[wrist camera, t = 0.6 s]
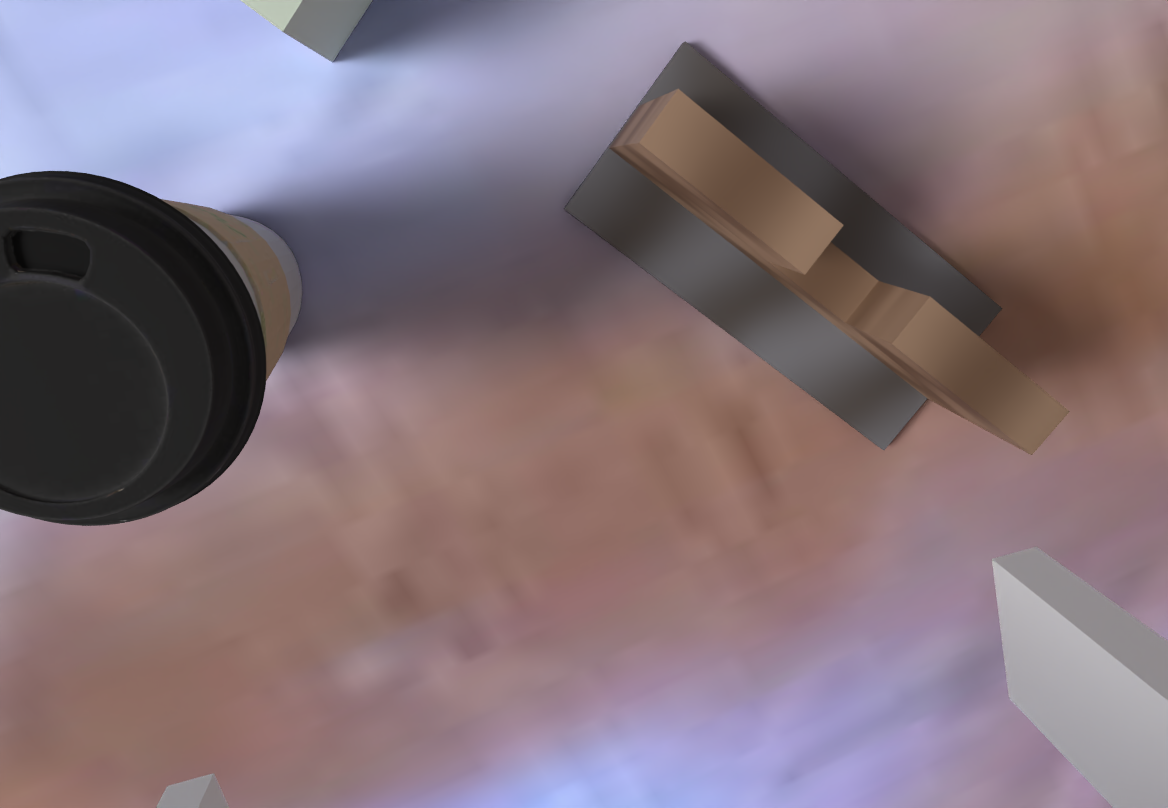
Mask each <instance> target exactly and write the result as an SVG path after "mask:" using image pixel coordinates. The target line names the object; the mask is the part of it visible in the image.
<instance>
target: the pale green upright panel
mask: <svg viewBox="0 0 1168 808" xmlns="http://www.w3.org/2000/svg"><path fill="white" fill-rule="evenodd" d="M241 1H242V2H243V3H245V4H246V5H247V6H249V7H250V8H251V9H253V10H254V11H255V12H257V13H258V14H259V15H261V16H262V17H263V18H265V19H266V20H268V21H269V22H270V23H272V24H273V25H274V26H276V27H277V28H278V29H280V30H281V31H282V32H284V33H285V34H287V35H289V36H290V37H292V38H294V39H295V40H297V41H298V42H300V43H302V44H303V45H305V46H307V47H308V48H310V49H312V50H313V51H315V52H316V53H318V54H320V55H321V56H323V57H325V58H326V59H328V60H329V61H331V62H333V61H334V60H335V58H336V56H337V55H338V53H339V52H340V50H341V49H342V47H343V46H344V44H345V42H346V41H347V39H348V38H349V36H350V35H351V33H352V32H353V30H354V28H355V27H356V25H357V24H358V22H359V21H360V19H361V18H362V16H363V15H364V13H365V11H366V10H367V8H368V7H369V5H370V4H371V2H372V1H373V0H241Z"/></svg>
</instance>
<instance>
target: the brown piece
mask: <svg viewBox="0 0 1168 808" xmlns="http://www.w3.org/2000/svg"><path fill="white" fill-rule="evenodd" d="M564 209H565V210H566V211H567V212H569V213H570V214H571V215H572V216H574V217H575V218H576V219H578V220H579V221H580V222H582V223H583V224H584V225H586V226H587V227H588V228H590V229H591V230H592V231H594V232H595V233H596V234H598V235H599V236H600V237H602V238H603V239H604V240H606V241H607V242H608V243H610V244H611V245H612V246H614V247H615V248H616V249H618V250H619V251H620V252H621V253H623V254H624V255H625V256H627V257H628V258H629V259H631V260H632V261H633V262H635V263H636V264H637V265H639V266H640V267H641V268H643V269H644V270H645V271H647V272H648V273H649V274H651V275H652V276H653V277H655V278H656V279H657V280H659V281H660V282H661V283H663V284H664V285H665V286H666V287H668V288H669V289H670V290H672V291H673V292H674V293H676V294H677V295H678V296H680V297H681V298H682V299H684V300H685V301H686V302H688V303H689V304H690V305H692V306H693V307H694V308H696V309H697V310H698V311H700V312H701V313H702V314H704V315H705V316H706V317H708V318H709V319H710V320H712V321H713V322H714V323H715V324H717V325H718V326H719V327H721V328H722V329H723V330H725V331H726V332H727V333H729V334H730V335H731V336H733V337H734V338H735V339H737V340H738V341H739V342H741V343H742V344H743V345H745V346H746V347H747V348H749V349H750V350H751V351H753V352H754V353H755V354H757V355H758V356H759V357H761V358H762V359H763V360H764V361H766V362H767V363H768V364H770V365H771V366H772V367H774V368H775V369H776V370H778V371H779V372H780V373H782V374H783V375H784V376H786V377H787V378H788V379H790V380H791V381H792V382H794V383H795V384H796V385H798V386H799V387H800V388H802V389H803V390H804V391H806V392H807V393H808V394H810V395H811V396H812V397H813V398H815V399H816V400H817V401H819V402H820V403H821V404H823V405H824V406H825V407H827V408H828V409H829V410H831V411H832V412H833V413H835V414H836V415H837V416H839V417H840V418H841V419H843V420H844V421H845V422H847V423H848V424H849V425H851V426H852V427H853V428H855V429H856V430H857V431H858V432H860V433H861V434H862V435H864V436H865V437H866V438H868V439H869V440H870V441H872V442H873V443H874V444H876V445H877V446H878V447H880V448H881V449H882V450H885V449H886V447H887V446H888V445H889V444H890V443H891V441H892V440H893V439H894V438H895V437H896V435H897V434H898V433H899V432H900V431H901V429H902V428H903V427H904V426H905V425H906V423H907V422H908V421H909V420H910V419H911V417H912V416H913V415H914V414H915V413H916V411H917V410H918V409H919V408H920V407H921V405H922V404H923V403H924V402H925V401H926V399H927V398H928V399H929V400H931V401H933V402H935V403H937V404H939V405H940V406H942V407H944V408H946V409H948V410H950V411H951V412H953V413H955V414H957V415H959V416H961V417H962V418H964V419H966V420H968V421H970V422H972V423H973V424H975V425H977V426H979V427H981V428H983V429H984V430H986V431H988V432H990V433H992V434H994V435H995V436H997V437H999V438H1001V439H1003V440H1005V441H1006V442H1008V443H1010V444H1012V445H1014V446H1016V447H1017V448H1019V449H1021V450H1023V451H1025V452H1027V453H1028V454H1030V455H1032V454H1033V453H1034V452H1035V451H1036V450H1037V449H1038V447H1039V446H1040V445H1041V444H1042V443H1043V442H1044V440H1045V439H1046V438H1047V437H1048V436H1049V435H1050V434H1051V432H1052V431H1053V430H1054V429H1055V428H1056V427H1057V425H1058V424H1059V423H1060V422H1061V421H1062V420H1063V419H1064V417H1065V416H1066V415H1067V414H1068V413H1069V412H1070V411H1068V410H1067V409H1066V408H1065V407H1064V406H1062V405H1061V404H1060V403H1059V402H1057V401H1056V400H1055V399H1054V398H1053V397H1051V396H1050V395H1049V394H1048V393H1047V392H1045V391H1044V390H1043V389H1042V388H1041V387H1039V386H1038V385H1037V384H1036V383H1034V382H1033V381H1032V380H1031V379H1030V378H1028V377H1027V376H1026V375H1025V374H1024V373H1022V372H1021V371H1020V370H1019V369H1017V368H1016V367H1015V366H1014V365H1013V364H1011V363H1010V362H1009V361H1008V360H1007V359H1005V358H1004V357H1003V356H1002V355H1000V354H999V353H998V352H997V351H996V350H994V349H993V348H992V347H991V346H990V345H988V344H987V343H986V342H985V341H984V340H982V339H981V338H980V337H979V336H980V335H981V333H982V332H983V331H984V330H985V329H986V327H987V326H988V325H989V324H990V322H991V321H992V320H993V319H994V318H995V316H996V315H997V314H998V313H999V312H1000V310H1001V309H1002V308H1001V307H1000V306H999V305H997V304H996V303H995V302H994V301H993V300H992V299H990V298H989V297H988V296H987V295H986V294H984V293H983V292H982V291H981V290H980V289H978V288H977V287H976V286H975V285H974V284H973V283H971V282H970V281H969V280H968V279H967V278H965V277H964V276H963V275H962V274H961V273H959V272H958V271H957V270H956V269H955V268H954V267H952V266H951V265H950V264H949V263H948V262H946V261H945V260H944V259H943V258H942V257H941V256H939V255H938V254H937V253H936V252H935V251H933V250H932V249H931V248H930V247H929V246H927V245H926V244H925V243H924V242H923V241H922V240H920V239H919V238H918V237H917V236H916V235H914V234H913V233H912V232H911V231H910V230H908V229H907V228H906V227H905V226H904V225H903V224H901V223H900V222H899V221H898V220H897V219H895V218H894V217H893V216H892V215H891V214H889V213H888V212H887V211H886V210H885V209H884V208H882V207H881V206H880V205H879V204H878V203H876V202H875V201H874V200H873V199H872V198H870V197H869V196H868V195H867V194H866V193H865V192H863V191H862V190H861V189H860V188H859V187H857V186H856V185H855V184H854V183H853V182H851V181H850V180H849V179H848V178H847V177H846V176H844V175H843V174H842V173H841V172H840V171H838V170H837V169H836V168H835V167H834V166H833V165H831V164H830V163H829V162H828V161H827V160H825V159H824V158H823V157H822V156H821V155H819V154H818V153H817V152H816V151H815V150H814V149H812V148H811V147H810V146H809V145H808V144H806V143H805V142H804V141H803V140H802V139H800V138H799V137H798V136H797V135H796V134H795V133H793V132H792V131H791V130H790V129H789V128H787V127H786V126H785V125H784V124H783V123H781V122H780V121H779V120H778V119H777V118H776V117H774V116H773V115H772V114H771V113H770V112H768V111H767V110H766V109H765V108H764V107H762V106H761V105H760V104H759V103H758V102H757V101H755V100H754V99H753V98H752V97H751V96H749V95H748V94H747V93H746V92H745V91H743V90H742V89H741V88H740V87H739V86H738V85H736V84H735V83H734V82H733V81H732V80H730V79H729V78H728V77H727V76H726V75H725V74H723V73H722V72H721V71H720V70H719V69H717V68H716V67H715V66H714V65H713V64H711V63H710V62H709V61H708V60H707V59H706V58H704V57H703V56H702V55H701V54H700V53H698V52H697V51H696V50H695V49H694V48H692V47H691V46H690V45H689V44H688V43H687V42H684V43H682V45H681V46H680V47H679V49H678V50H677V52H676V53H675V54H674V56H673V57H672V59H671V60H670V61H669V63H668V64H667V65H666V67H665V68H664V70H663V71H662V72H661V74H660V75H659V77H658V78H657V79H656V81H655V82H654V84H653V85H652V86H651V88H650V89H649V91H648V92H647V93H646V95H645V96H644V98H643V99H642V100H641V102H640V103H639V105H638V106H637V107H636V109H635V110H634V112H633V113H632V114H631V116H630V117H629V119H628V120H627V121H626V123H625V124H624V125H623V127H622V128H621V130H620V131H619V132H618V134H617V135H616V137H615V138H614V139H613V141H612V142H611V144H610V145H609V146H608V148H607V149H606V151H605V152H604V153H603V155H602V156H601V158H600V159H599V160H598V162H597V163H596V165H595V166H594V167H593V169H592V170H591V172H590V173H589V174H588V176H587V177H586V178H585V180H584V181H583V183H582V184H581V185H580V187H579V188H578V190H577V191H576V192H575V194H574V195H573V197H572V198H571V199H570V201H569V202H568V204H567V205H566V206H565V208H564Z"/></svg>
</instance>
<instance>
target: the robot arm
mask: <svg viewBox="0 0 1168 808" xmlns="http://www.w3.org/2000/svg"><path fill="white" fill-rule="evenodd" d="M992 564H993V572H994V580H995V588H996V596H997V604H998V612H999V620H1000V629H1001V637H1002V645H1003V653H1004V661H1005V669H1006V677H1007V685H1008V693H1009V699H1010V700H1011V701H1012V702H1013V703H1014V704H1015V705H1016V706H1017V707H1018V708H1019V709H1020V710H1021V711H1022V712H1023V713H1024V714H1025V715H1026V716H1027V718H1028V719H1029V720H1030V721H1031V722H1032V723H1033V724H1034V725H1035V726H1036V727H1037V728H1038V729H1039V730H1040V731H1041V732H1042V733H1043V734H1044V735H1045V736H1046V737H1047V739H1048V740H1049V741H1050V742H1051V743H1052V744H1053V745H1054V746H1055V747H1056V748H1057V749H1058V750H1059V751H1060V752H1061V753H1062V754H1063V755H1064V756H1065V757H1066V759H1067V760H1068V761H1069V762H1070V763H1071V764H1072V765H1073V766H1074V767H1075V768H1076V769H1077V770H1078V771H1079V772H1080V773H1081V774H1082V775H1083V776H1084V777H1085V778H1086V780H1087V781H1088V782H1089V783H1090V784H1091V785H1092V786H1093V787H1094V788H1095V789H1096V790H1097V791H1098V792H1099V793H1100V794H1101V795H1102V796H1103V797H1104V798H1105V799H1106V801H1107V802H1108V803H1109V804H1110V805H1111V806H1112V807H1113V808H1168V641H1167V640H1166V639H1164V638H1163V637H1161V636H1160V635H1159V634H1157V633H1156V632H1155V631H1153V630H1152V629H1150V628H1149V627H1148V626H1146V625H1145V624H1143V623H1142V622H1141V621H1139V620H1138V619H1136V618H1135V617H1134V616H1132V615H1131V614H1129V613H1128V612H1127V611H1125V610H1124V609H1122V608H1121V607H1120V606H1118V605H1117V604H1115V603H1114V602H1113V601H1111V600H1110V599H1109V598H1107V597H1106V596H1104V595H1103V594H1102V593H1100V592H1099V591H1097V590H1096V589H1095V588H1093V587H1092V586H1090V585H1089V584H1088V583H1086V582H1085V581H1083V580H1082V579H1081V578H1079V577H1078V576H1076V575H1075V574H1074V573H1072V572H1071V571H1069V570H1068V569H1067V568H1065V567H1064V566H1062V565H1061V564H1060V563H1058V562H1057V561H1056V560H1054V559H1053V558H1051V557H1050V556H1049V555H1047V554H1046V553H1044V552H1043V551H1042V550H1040V549H1039V548H1037V547H1033V548H1030V549H1026V550H1022V551H1019V552H1015V553H1011V554H1008V555H1004V556H1001V557H997V558H993V559H992ZM156 808H229V806H228V804H227V801H226V799H225V797H224V795H223V792H222V790H221V788H220V786H219V784H218V781H217V779H216V777H215V775H214V773H213V774H209V775H206V776H202V777H199V778H195V779H191V780H188V781H184V782H180V783H177V784H173V785H170V786H167V788H166V790H165V792H164V793H163V795H162V797H161V799H160V801H159V803H158V805H157V807H156Z"/></svg>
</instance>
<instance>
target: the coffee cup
mask: <svg viewBox="0 0 1168 808" xmlns="http://www.w3.org/2000/svg"><path fill="white" fill-rule="evenodd" d="M301 300H302V280H301V275H300V271H299V267H298V264H297V262H296V259H295V257H294V255H293V252H292V251H291V250H290V248H289V247H288V245H287V244H286V243H285V241H284V240H283V239H282V238H281V237H279V236H278V235H277V234H276V233H275V232H274V231H273V230H271V229H269V228H267V227H266V226H264V225H262V224H261V223H258V222H256V221H253V220H250V219H247V218H244V217H239V216H234V215H229V214H226V213H223V212H220V211H218V210H215V209H212V208H208V207H203V206H198V205H193V204H187V203H181V202H175V201H169V200H163V199H159V198H157V197H156V196H154V195H151V194H149V193H147V192H145V191H143V190H141V189H139V188H136V187H134V186H131V185H128V184H126V183H123V182H120V181H117V180H113V179H110V178H106V177H102V176H97V175H92V174H87V173H78V172H69V171H42V172H31V173H24V174H18V175H14V176H10V177H6V178H2V179H0V509H2V510H5V511H8V512H11V513H15V514H19V515H23V516H28V517H32V518H35V519H40V520H44V521H49V522H54V523H61V524H68V525H82V526H96V525H110V524H119V523H124V522H130V521H134V520H138V519H142V518H145V517H148V516H151V515H154V514H157V513H159V512H162V511H164V510H166V509H168V508H170V507H172V506H175V505H177V504H179V503H181V502H183V501H185V500H187V499H189V498H191V497H192V496H194V495H196V494H198V493H199V492H200V491H202V490H203V489H205V488H206V487H207V486H209V485H210V484H211V483H213V482H214V481H215V480H216V479H217V478H218V477H219V476H221V475H222V474H223V472H224V471H225V470H226V469H227V468H228V467H229V466H230V465H231V464H232V463H233V461H234V460H235V459H236V458H237V456H238V455H239V454H240V452H241V451H242V449H243V448H244V446H245V444H246V443H247V441H248V439H249V437H250V435H251V433H252V431H253V429H254V427H255V424H256V422H257V419H258V416H259V413H260V410H261V406H262V402H263V398H264V392H265V385H266V380H267V379H268V377H269V375H270V374H271V372H272V370H273V369H274V367H275V365H276V363H277V362H278V360H279V358H280V356H281V354H282V353H283V350H284V347H285V344H286V341H287V337H288V335H289V334H290V332H291V330H292V328H293V327H294V325H295V323H296V321H297V318H298V314H299V311H300V308H301Z"/></svg>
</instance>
